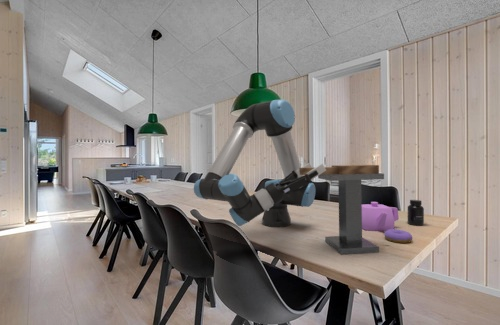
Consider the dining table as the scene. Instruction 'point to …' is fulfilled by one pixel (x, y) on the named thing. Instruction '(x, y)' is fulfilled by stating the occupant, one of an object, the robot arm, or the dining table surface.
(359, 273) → the dining table surface
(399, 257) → the dining table surface
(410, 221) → the supplement bottle
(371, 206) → the teakettle
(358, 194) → the pedestal
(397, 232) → the donut
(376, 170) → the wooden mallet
